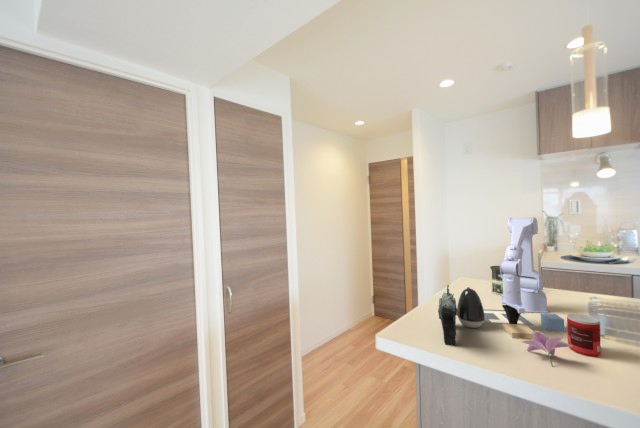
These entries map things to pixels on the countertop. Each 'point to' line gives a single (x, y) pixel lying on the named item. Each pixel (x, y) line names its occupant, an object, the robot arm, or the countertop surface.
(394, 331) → the countertop surface
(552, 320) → the blue cube
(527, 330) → the oak slab
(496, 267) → the coffee can
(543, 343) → the lily
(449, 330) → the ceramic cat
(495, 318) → the letter card
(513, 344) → the countertop surface
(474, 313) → the black egg shaped container
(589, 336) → the canned food
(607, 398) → the countertop surface
